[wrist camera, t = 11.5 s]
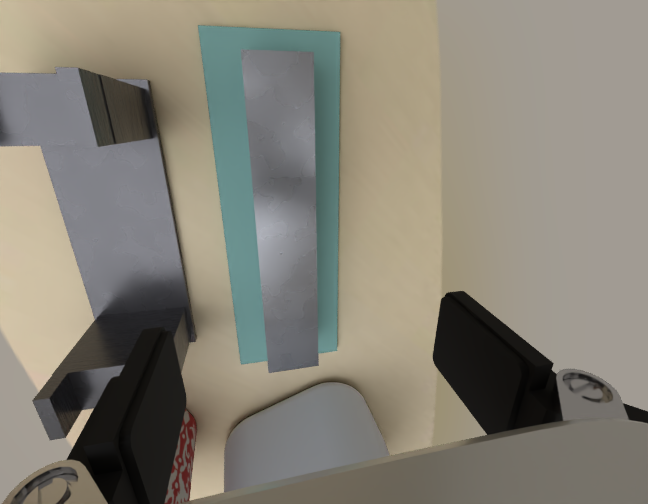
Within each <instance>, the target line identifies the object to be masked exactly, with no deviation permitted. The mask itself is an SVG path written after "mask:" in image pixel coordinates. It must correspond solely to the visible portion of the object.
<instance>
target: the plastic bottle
mask: <svg viewBox="0 0 648 504" xmlns="http://www.w3.org/2000/svg"><path fill="white" fill-rule="evenodd" d="M386 456H390V455H389V452H388V449H387V446H386V444H385V441H384V439H383V437H382V435H381V433H380V430H379V428H378V426H377V424H376V422H375V420H374V418H373V416H372V414H371V412H370V410H369V408H368V406H367V404H366V402H365V400H364V398H363V396H362V395H361V394H360V393H359V392H358V391H357V390H356V389H354V388H353V387H351V386H349V385H346V384H343V383H338V382H328V383H322V384H318V385H315V386H313V387H311V388H309V389H307V390H305V391H302V392H300V393H298V394H296V395H294V396H292V397H290V398H288V399H286V400H283V401H281V402H279V403H277V404H275V405H273V406H271V407H269V408H267V409H265V410H262V411H260V412H258V413H256V414H254V415H252V416H250V417H248V418H246V419H245V420H243V421H242V422H241V423H239V424H238V425H237V426H236V427H235V428H234V430H233V431H232V432H231V434H230V435H229V437H228V439H227V442H226V445H225V451H224V492H229V491H233V490H237V489H241V488H245V487H250V486H254V485H259V484H263V483H268V482H272V481H277V480H281V479H286V478H290V477H295V476H299V475H304V474H308V473H313V472H317V471H322V470H326V469H331V468H335V467H340V466H345V465H349V464H354V463H358V462H363V461H368V460H372V459H377V458H381V457H386Z"/></svg>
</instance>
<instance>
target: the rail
mask: <svg viewBox="0 0 648 504" xmlns="http://www.w3.org/2000/svg"><path fill="white" fill-rule="evenodd" d="M241 60H242V72H243V83H244V95H245V106H246V118H247V129H248V141H249V152H250V164H251V175H252V187H253V198H254V210H255V221H256V233H257V244H258V256H259V267H260V279H261V290H262V302H263V313H264V325H265V336H266V348H267V359H268V371H269V373H272V372H279V371H286V370H292V369H299V368H306V367H312V366H319V363H318V296H317V230H316V163H315V97H314V52H301V51H273V50H244V49H241Z"/></svg>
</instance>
